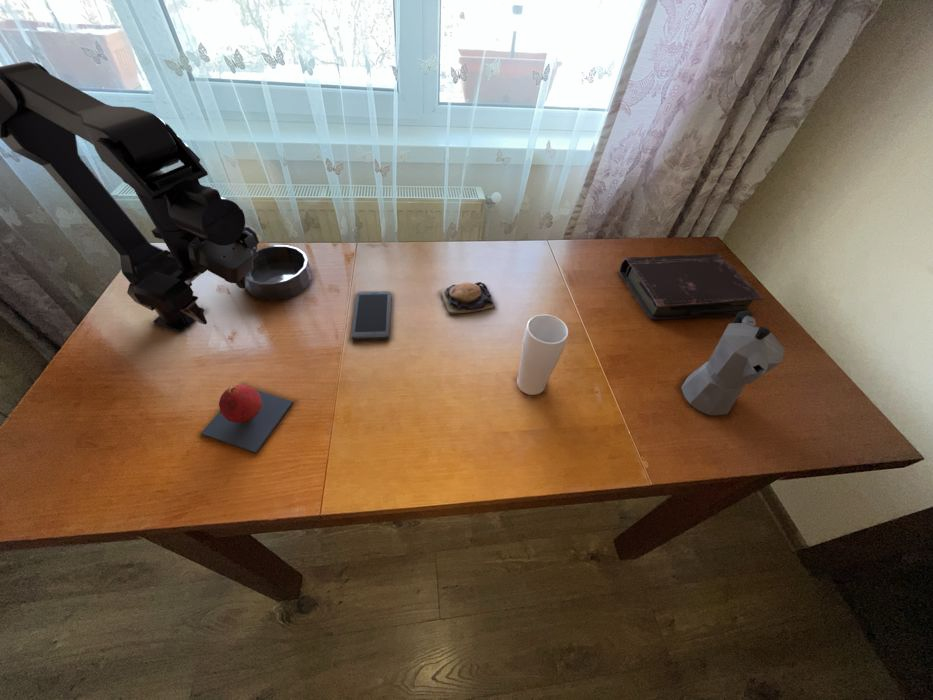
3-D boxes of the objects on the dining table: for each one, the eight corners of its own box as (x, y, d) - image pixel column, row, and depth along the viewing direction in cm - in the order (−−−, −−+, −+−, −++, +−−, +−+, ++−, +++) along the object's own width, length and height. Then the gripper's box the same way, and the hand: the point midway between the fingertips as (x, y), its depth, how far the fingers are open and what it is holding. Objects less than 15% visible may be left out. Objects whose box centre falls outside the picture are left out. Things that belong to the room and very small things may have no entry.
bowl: (233, 291, 86) (224, 274, 82) (271, 256, 94) (265, 239, 91) (289, 307, 84) (283, 290, 80) (323, 269, 92) (319, 253, 89)
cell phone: (351, 340, 78) (350, 338, 78) (357, 293, 88) (356, 291, 87) (389, 339, 79) (389, 336, 79) (391, 293, 88) (390, 290, 88)
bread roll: (448, 317, 85) (449, 304, 82) (439, 291, 90) (439, 278, 87) (496, 309, 87) (498, 296, 84) (484, 284, 92) (485, 272, 90)
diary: (617, 271, 99) (624, 254, 95) (707, 266, 103) (718, 250, 99) (650, 324, 87) (660, 307, 83) (751, 317, 91) (765, 300, 87)
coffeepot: (736, 432, 70) (809, 369, 57) (681, 417, 72) (739, 351, 58) (726, 368, 80) (786, 301, 67) (678, 355, 82) (726, 287, 68)
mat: (201, 434, 64) (200, 433, 63) (243, 386, 70) (242, 385, 70) (256, 453, 62) (255, 452, 62) (293, 402, 69) (292, 401, 68)
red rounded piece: (255, 435, 64) (237, 408, 58) (222, 427, 64) (200, 399, 58) (274, 405, 68) (258, 376, 62) (242, 398, 68) (224, 369, 62)
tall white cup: (551, 376, 76) (572, 320, 65) (544, 404, 72) (565, 349, 60) (517, 366, 77) (531, 309, 66) (508, 393, 73) (521, 336, 61)
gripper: (176, 274, 47) (227, 358, 59) (272, 200, 59) (299, 282, 71) (99, 252, 49) (164, 338, 61) (208, 185, 61) (244, 268, 73)
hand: (224, 304), depth 66 cm, fingers open, 9 cm apart
